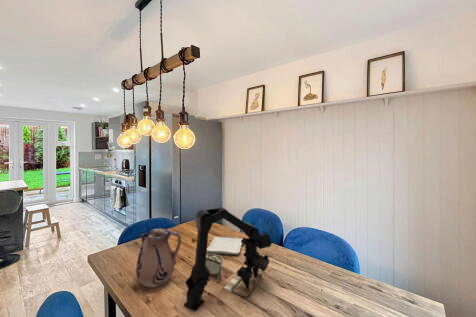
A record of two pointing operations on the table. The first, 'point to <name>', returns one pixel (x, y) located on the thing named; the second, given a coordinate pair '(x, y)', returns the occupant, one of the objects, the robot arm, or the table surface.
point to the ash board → (233, 284)
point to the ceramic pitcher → (156, 257)
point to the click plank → (242, 288)
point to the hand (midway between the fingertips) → (251, 282)
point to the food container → (214, 265)
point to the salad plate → (225, 245)
